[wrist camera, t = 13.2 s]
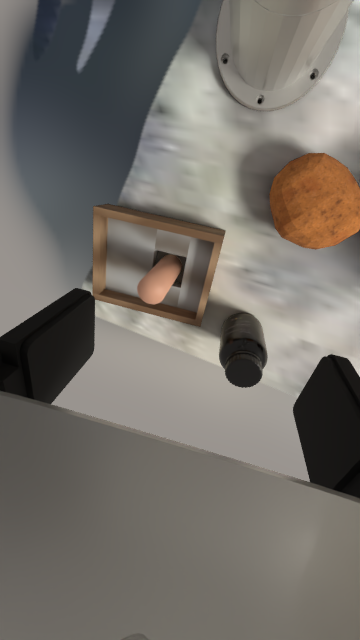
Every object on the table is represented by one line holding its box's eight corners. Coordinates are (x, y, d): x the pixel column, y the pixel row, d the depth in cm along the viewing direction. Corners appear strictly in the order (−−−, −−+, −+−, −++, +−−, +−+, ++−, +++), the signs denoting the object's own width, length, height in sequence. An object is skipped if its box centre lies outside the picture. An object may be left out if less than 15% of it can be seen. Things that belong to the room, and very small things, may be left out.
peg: (161, 252, 40) (138, 273, 30) (184, 257, 40) (167, 280, 30) (158, 273, 42) (135, 300, 32) (179, 278, 41) (162, 307, 32)
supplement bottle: (267, 340, 44) (276, 390, 33) (228, 349, 46) (226, 397, 36) (256, 306, 41) (263, 348, 31) (216, 317, 43) (209, 359, 33)
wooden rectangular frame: (108, 203, 38) (93, 206, 34) (225, 230, 36) (224, 236, 33) (105, 288, 45) (92, 298, 41) (203, 314, 43) (200, 326, 40)
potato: (291, 258, 37) (303, 274, 30) (251, 188, 33) (254, 189, 27) (360, 218, 33) (391, 226, 26) (322, 135, 30) (346, 121, 23)
